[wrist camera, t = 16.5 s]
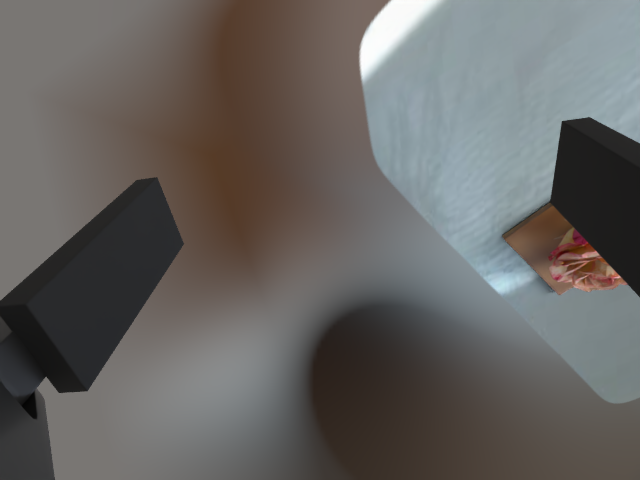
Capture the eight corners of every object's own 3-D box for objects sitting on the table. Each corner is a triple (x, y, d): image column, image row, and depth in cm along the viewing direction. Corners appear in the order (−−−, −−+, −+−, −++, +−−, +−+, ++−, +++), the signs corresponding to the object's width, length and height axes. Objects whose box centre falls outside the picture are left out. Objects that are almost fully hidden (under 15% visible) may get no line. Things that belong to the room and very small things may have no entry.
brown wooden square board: (501, 235, 44) (504, 239, 44) (598, 167, 40) (602, 170, 39) (556, 291, 48) (559, 295, 47) (651, 235, 43) (655, 239, 42)
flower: (570, 184, 38) (570, 260, 35) (682, 199, 36) (691, 281, 33) (533, 228, 47) (530, 293, 44) (620, 242, 45) (624, 311, 42)
